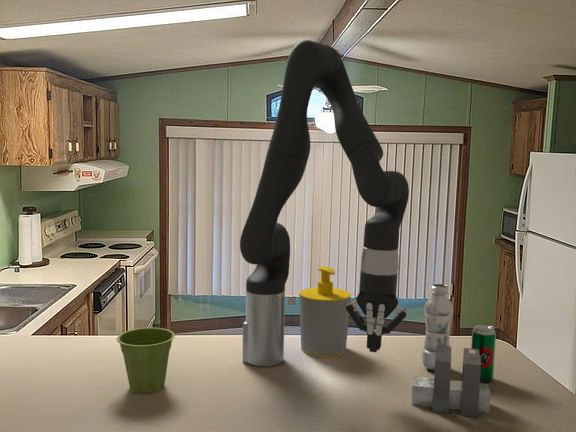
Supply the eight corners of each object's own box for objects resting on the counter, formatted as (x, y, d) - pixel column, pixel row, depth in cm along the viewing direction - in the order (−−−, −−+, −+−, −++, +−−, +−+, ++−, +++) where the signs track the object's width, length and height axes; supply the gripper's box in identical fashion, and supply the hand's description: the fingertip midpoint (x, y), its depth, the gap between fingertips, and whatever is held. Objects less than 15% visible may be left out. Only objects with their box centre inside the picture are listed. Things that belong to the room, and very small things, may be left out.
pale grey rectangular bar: (411, 404, 122) (412, 385, 122) (412, 394, 127) (412, 376, 126) (489, 413, 119) (490, 393, 118) (486, 402, 124) (487, 383, 123)
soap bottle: (314, 361, 145) (316, 275, 142) (289, 345, 156) (290, 265, 154) (359, 353, 151) (362, 270, 148) (332, 338, 162) (334, 261, 160)
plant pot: (123, 377, 133) (122, 327, 132) (177, 376, 135) (177, 327, 133) (112, 399, 122) (111, 345, 120) (172, 398, 123) (171, 344, 122)
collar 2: (461, 415, 117) (464, 358, 116) (461, 396, 126) (464, 343, 125) (477, 417, 117) (481, 360, 115) (476, 398, 126) (479, 344, 124)
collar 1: (432, 411, 119) (435, 360, 118) (434, 392, 128) (436, 345, 127) (448, 413, 118) (451, 362, 117) (448, 394, 127) (451, 346, 126)
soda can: (497, 380, 135) (501, 328, 134) (482, 385, 133) (485, 332, 131) (480, 373, 140) (483, 322, 138) (464, 377, 137) (467, 325, 136)
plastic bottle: (451, 375, 138) (456, 290, 135) (421, 372, 139) (425, 288, 137) (450, 365, 144) (454, 283, 142) (421, 363, 145) (424, 281, 143)
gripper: (343, 269, 121) (338, 352, 123) (410, 276, 117) (404, 361, 120) (350, 262, 128) (345, 340, 130) (413, 268, 124) (407, 349, 127)
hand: (373, 350), depth 125 cm, fingers closed
